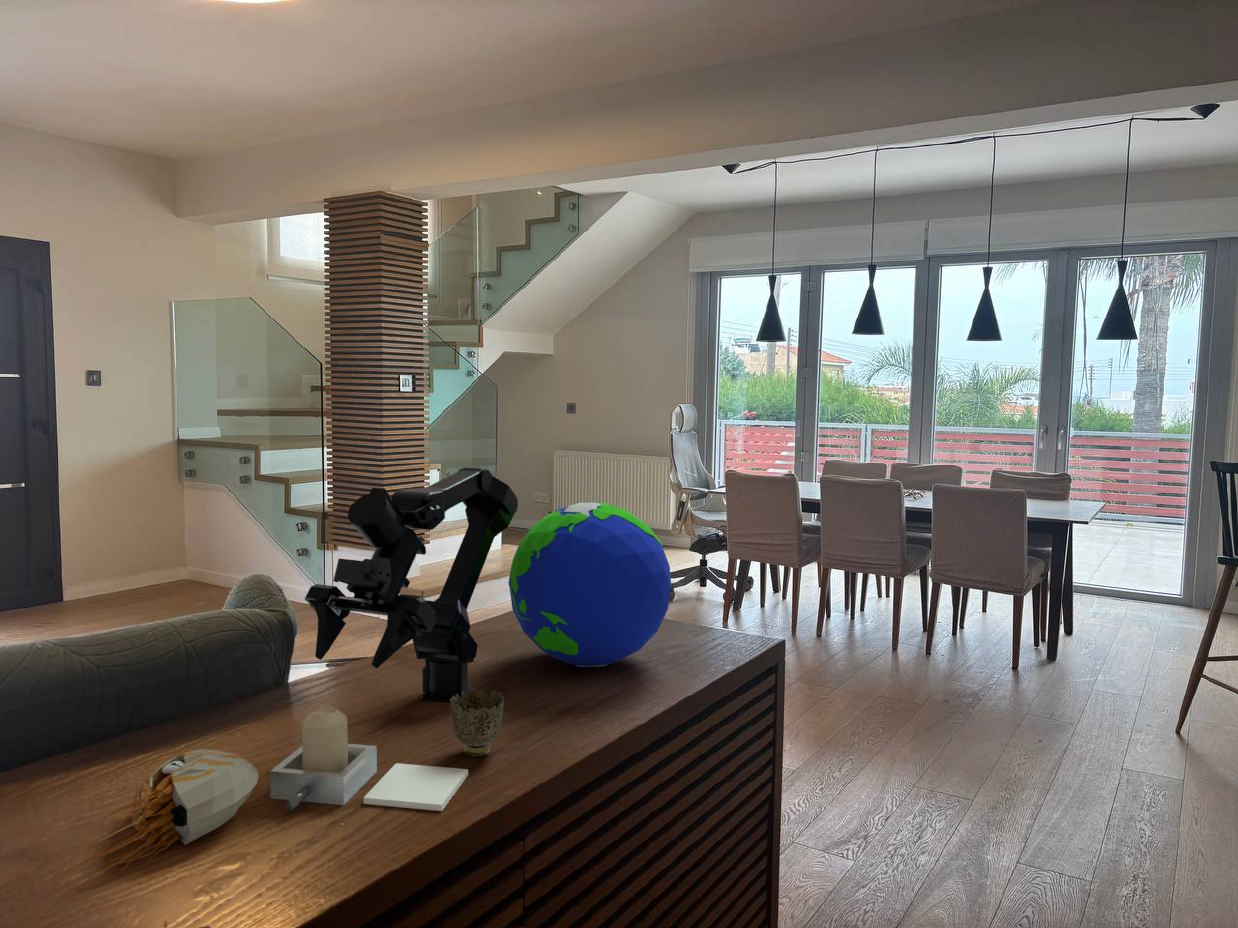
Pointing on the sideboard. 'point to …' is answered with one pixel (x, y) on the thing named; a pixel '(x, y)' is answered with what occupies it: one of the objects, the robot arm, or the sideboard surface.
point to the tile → (416, 787)
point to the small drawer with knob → (322, 778)
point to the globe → (590, 584)
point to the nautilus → (187, 799)
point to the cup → (477, 720)
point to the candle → (325, 740)
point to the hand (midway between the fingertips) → (345, 662)
